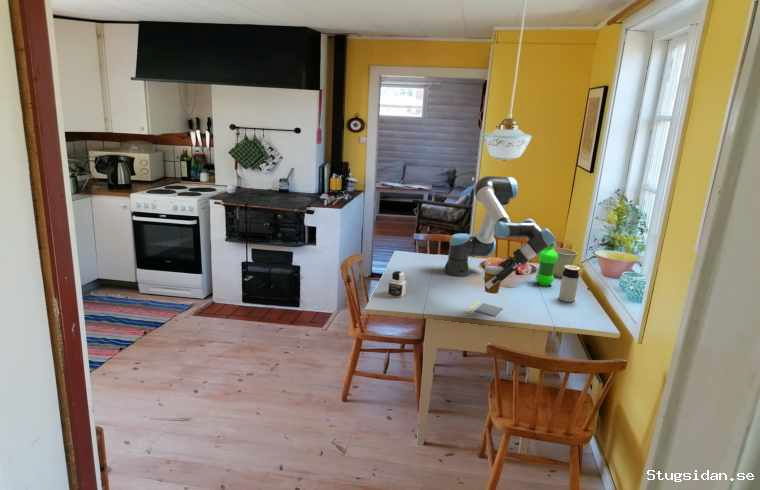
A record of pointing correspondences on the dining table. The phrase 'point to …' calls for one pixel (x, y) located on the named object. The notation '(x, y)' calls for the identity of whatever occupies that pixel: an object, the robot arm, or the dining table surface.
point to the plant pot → (563, 260)
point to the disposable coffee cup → (489, 274)
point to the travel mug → (569, 283)
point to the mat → (488, 309)
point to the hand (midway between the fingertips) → (485, 283)
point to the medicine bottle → (397, 285)
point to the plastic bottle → (546, 266)
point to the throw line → (472, 307)
